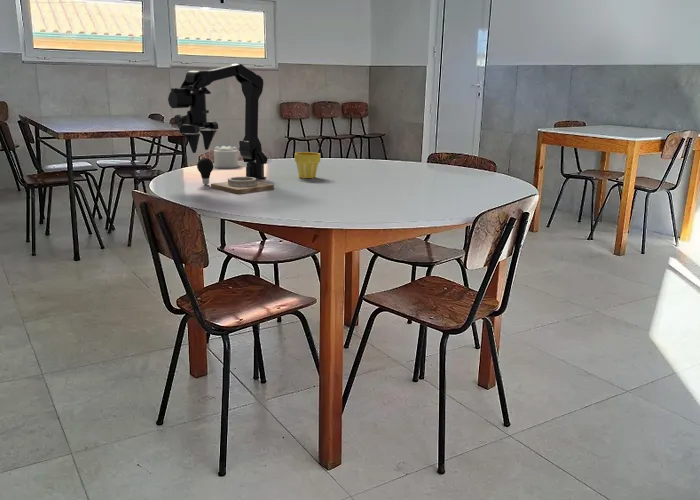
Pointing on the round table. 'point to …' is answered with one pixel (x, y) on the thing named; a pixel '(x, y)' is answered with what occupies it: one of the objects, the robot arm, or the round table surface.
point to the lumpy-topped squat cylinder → (225, 157)
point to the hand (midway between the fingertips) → (200, 151)
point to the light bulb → (205, 169)
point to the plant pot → (307, 164)
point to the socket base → (241, 189)
